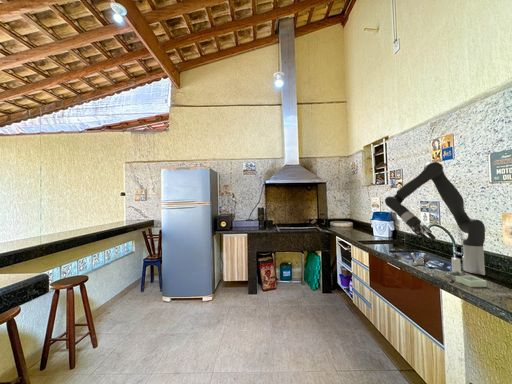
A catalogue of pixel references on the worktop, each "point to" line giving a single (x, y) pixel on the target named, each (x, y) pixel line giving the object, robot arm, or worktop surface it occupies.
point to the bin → (471, 281)
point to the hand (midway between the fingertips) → (431, 239)
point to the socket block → (451, 276)
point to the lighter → (417, 259)
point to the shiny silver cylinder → (456, 267)
